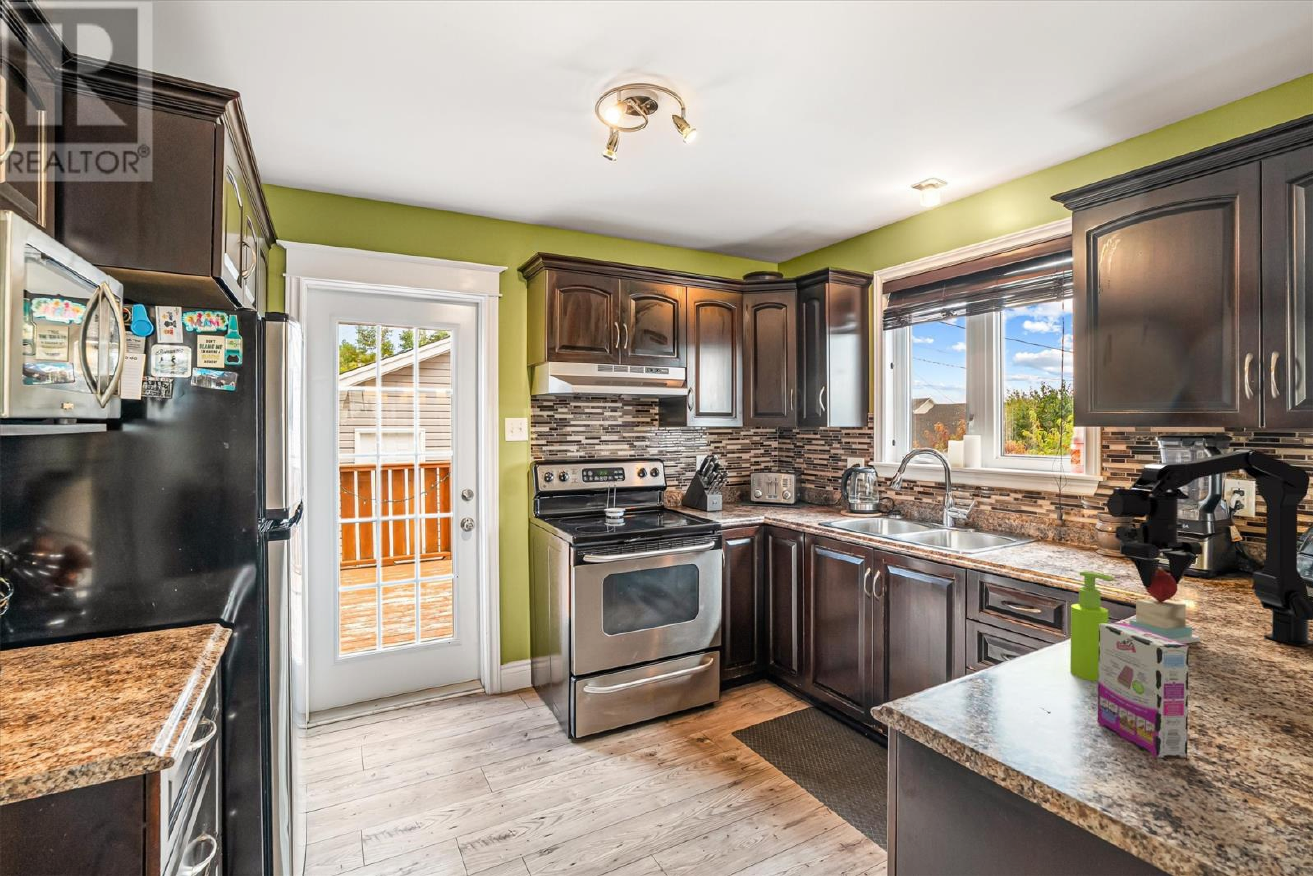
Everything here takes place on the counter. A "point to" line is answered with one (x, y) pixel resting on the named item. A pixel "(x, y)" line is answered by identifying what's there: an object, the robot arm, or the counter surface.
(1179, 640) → the tower base
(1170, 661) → the candy bar box
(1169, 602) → the maple block
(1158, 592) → the onion
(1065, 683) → the counter surface
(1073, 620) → the soap dispenser
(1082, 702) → the counter surface
